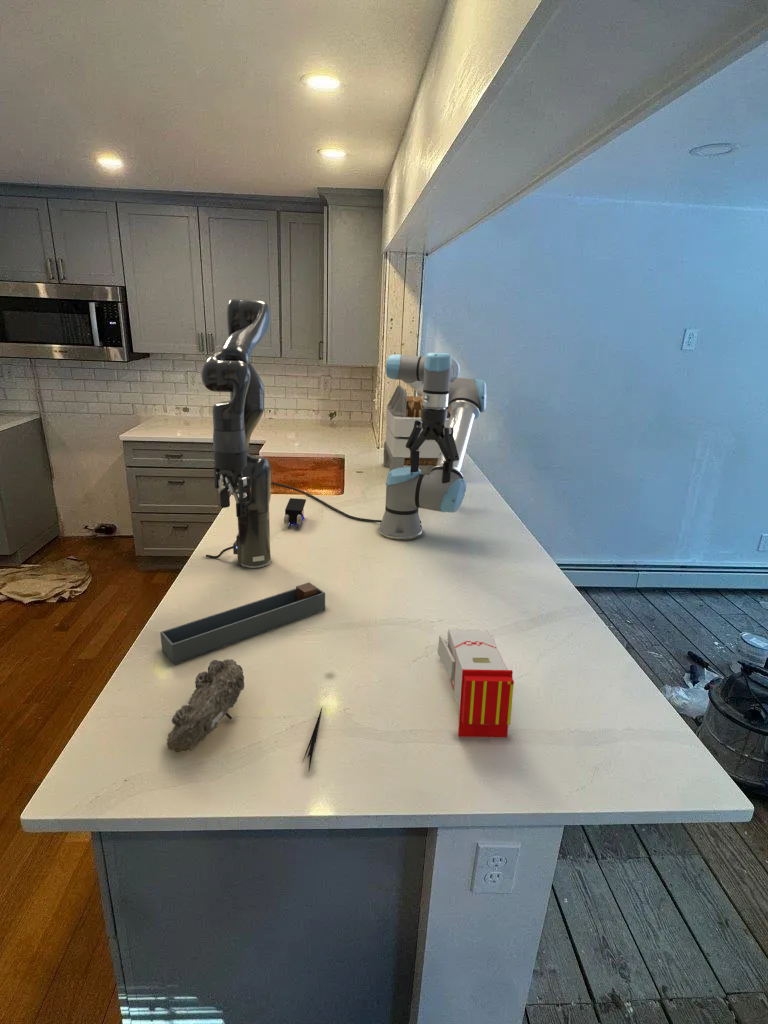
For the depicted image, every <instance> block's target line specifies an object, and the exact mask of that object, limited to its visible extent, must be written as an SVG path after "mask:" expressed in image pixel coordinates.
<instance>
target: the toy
mask: <svg viewBox="0 0 768 1024" xmlns="http://www.w3.org/2000/svg"><path fill="white" fill-rule="evenodd" d="M446 640H447V643H446V641H445V639H444V636H443V635H442V634H439V637H438V646H437V656H438V657H439V659H440V661H441V663H442V666H443V668H444V670H445V672H446V674H447V677H448V679H449V681H450V684H451V687H452V690H453V693H454V697H455V701H456V705H457V708H458V711H459V714H458V715H459V716H458V730H457V731H458V732H457V737H458V738H508V731H509V726H510V725H511V717H512V707H513V697H514V696H513V695H514V684H515V680H514V679H513V673H514V671H513V670H512V669H508V667H507V665H506V662H505V661H504V659H503V658H502V655H501V653H500V651H499V649H498V647H497V643H496V639H495V637H494V635H493V634H491V632H490V631H489V629H467V628H466V629H465V628H463V629H461V628H460V629H459V628H448V630H447V639H446Z"/></svg>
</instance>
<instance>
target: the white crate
mask: <svg viewBox="0 0 768 1024" xmlns="http://www.w3.org/2000/svg"><path fill="white" fill-rule="evenodd" d="M407 394H408V393H407V390H406V389H404V388H403V387H402V385H399V384H398V385H397V386H396V388H395V390H394V392H393V394H392V395H391V398H390V400H389V402H388V404H387V405H386V413H385V414H386V415H385V423H386V428H385V438H384V442H383V466H384V467H388V468H389V472H390V471H391V470H393V469H396V468H402V467H405V466H406V467H411V461H410V449H409V448H406V444H407V441H408V439H409V437H410V435H411V432H412V430H413V428H414V423H415V421H416V420H422V419H421V413H422V408H423V407H424V406H423V405H422V399H421V398H420V397H419V396H418V395H417V396H415V395H414V396H413V395H412V396H411V395H407ZM449 418H450V413H449V411H448V409H447V420H446V422H445V427H446V428H447V425H448V422H449ZM422 431H423V429H421V432H422ZM421 432H420V433H421ZM419 436H420V435H419ZM419 436H418V437H419ZM440 438H441V437H440ZM416 451H420V452H419V467H435V466H436V465H437V462H438V458H439V454H440V451H441V449H440V447H439V445H438V443H437V442H436V441H435V440H432V439H430V438H427V439H426V440H425V441H424V442H423V444H422V445H421V446H420V447H419V450H416ZM460 472H461V473H462V470H461V471H460Z"/></svg>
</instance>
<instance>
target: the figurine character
mask: <svg viewBox="0 0 768 1024" xmlns="http://www.w3.org/2000/svg"><path fill="white" fill-rule="evenodd" d="M306 502H307V499H305V498H294V497H290V498H289V499H288V502H287V504H286V507H285V508H284V518H283V524H284V525H287V528H288V529H291V526H296V528H295V529H299V527H300V525H302V524H303V521H304V520H305V519H306V518H305V515H304V514H305V510H304V508H305V505H306Z"/></svg>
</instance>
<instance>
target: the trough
mask: <svg viewBox="0 0 768 1024" xmlns="http://www.w3.org/2000/svg"><path fill="white" fill-rule="evenodd" d="M323 611H326V593H325V592H324V591H323V590H321V589H320V588H318V595H315V596H312V597H309V598H306V599H303V600H300V601H297V602H296V587H295V588H292V589H290V590H289V589H288V590H287V591H283V592H279V593H277V594H274V595H271V596H267V597H265V598H262V599H259V600H255V601H253V602H249V603H246V604H243V605H240V606H237V607H234V608H231V609H227V610H224V611H221V612H218V613H215V614H212V615H209V616H205V617H203V618H199V619H196V620H193V621H190V622H187V623H184V624H181V625H178V626H174V627H172V628H168V629H165V630H162V631H160V633H159V634H160V643H161V651H162V653H163V654H164V655H165V657H166V658H167V659H168V661H170V662H171V664H172V665H173V666H175V665H177V664H180V663H183V662H185V661H188V660H191V659H195V658H197V657H199V656H202V655H205V654H207V653H210V652H214V651H217V650H219V649H221V648H225V647H227V646H229V645H232V644H235V643H239V642H241V641H244V640H246V639H249V638H252V637H254V636H258V635H261V634H263V633H265V632H268V631H271V630H273V629H277V628H280V627H282V626H284V625H287V624H290V623H294V622H296V621H299V620H301V619H304V618H307V617H310V616H312V615H313V616H314V615H315V614H318V613H320V612H323Z"/></svg>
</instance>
